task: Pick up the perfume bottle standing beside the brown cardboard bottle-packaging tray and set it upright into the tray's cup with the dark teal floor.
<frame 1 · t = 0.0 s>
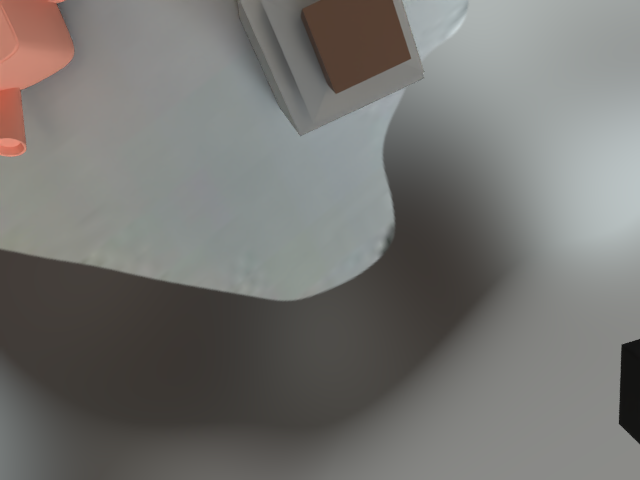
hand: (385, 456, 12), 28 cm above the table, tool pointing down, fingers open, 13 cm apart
perfume bottle: (301, 45, 34), on the table
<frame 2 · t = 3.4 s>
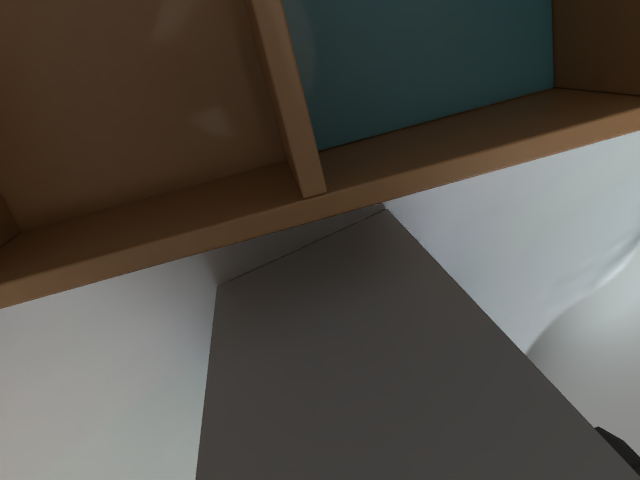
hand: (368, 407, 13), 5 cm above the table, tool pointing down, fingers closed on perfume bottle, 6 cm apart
perfume bottle: (335, 317, 18), on the table, touching gripper
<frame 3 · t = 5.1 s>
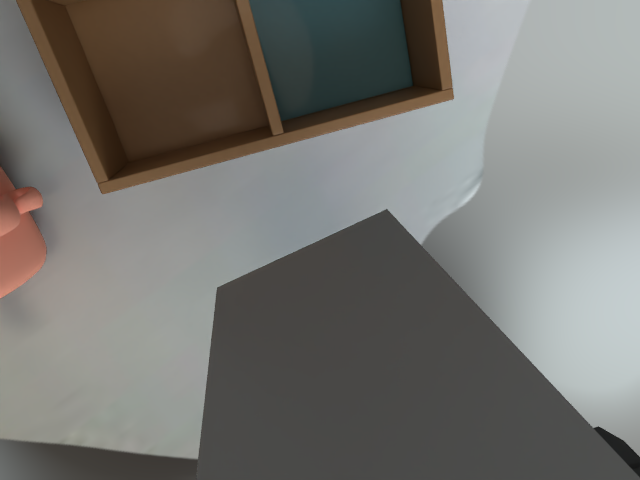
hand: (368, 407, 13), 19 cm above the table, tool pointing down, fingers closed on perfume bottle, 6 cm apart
perfume bottle: (335, 317, 18), point 13 cm above the table, touching gripper
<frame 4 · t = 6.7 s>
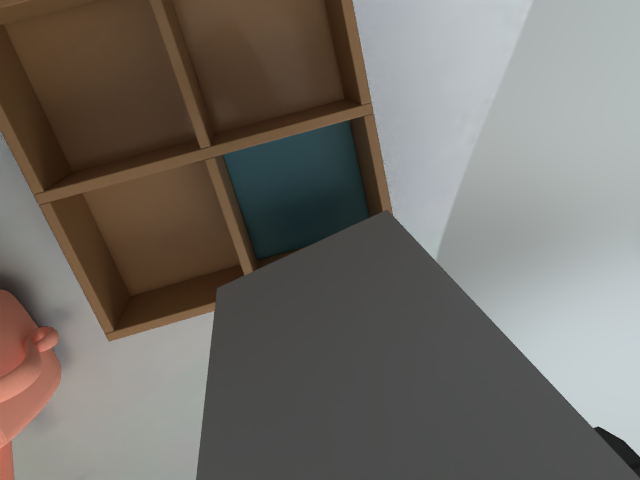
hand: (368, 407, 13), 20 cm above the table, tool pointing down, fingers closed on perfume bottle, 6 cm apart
perfume bottle: (336, 317, 18), point 15 cm above the table, touching gripper
bottle tray: (213, 138, 30), on the table
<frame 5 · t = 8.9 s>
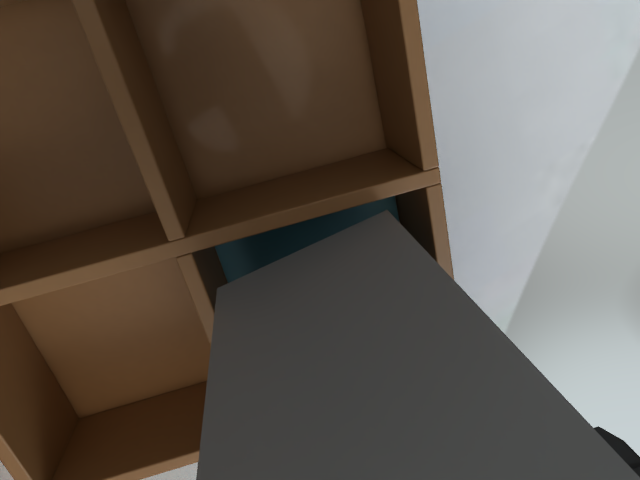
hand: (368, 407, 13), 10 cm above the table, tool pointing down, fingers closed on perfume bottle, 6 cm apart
perfume bottle: (336, 317, 18), point 5 cm above the table, touching gripper
bottle tray: (194, 203, 20), on the table
when the fingers open (6 cm above the table, at t = 10.3 s): perfume bottle stays where it is, resting on bottle tray.
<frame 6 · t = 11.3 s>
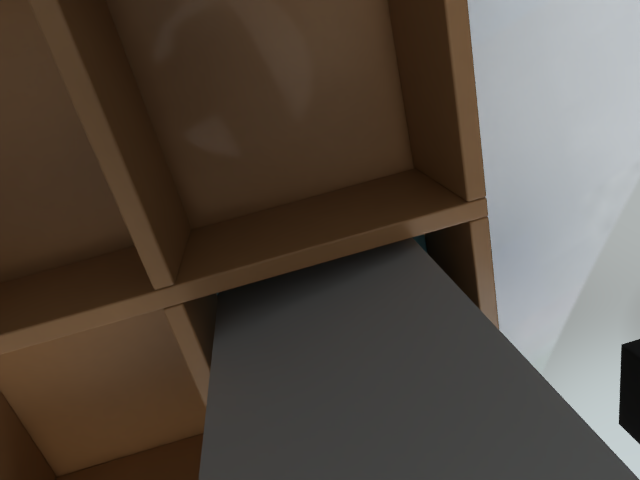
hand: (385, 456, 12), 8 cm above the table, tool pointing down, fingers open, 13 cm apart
perfume bottle: (333, 309, 19), point 1 cm above the table, touching bottle tray
bottle tray: (188, 233, 17), on the table
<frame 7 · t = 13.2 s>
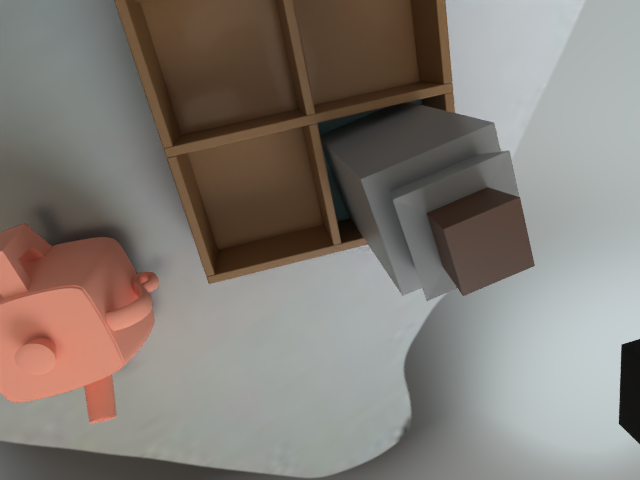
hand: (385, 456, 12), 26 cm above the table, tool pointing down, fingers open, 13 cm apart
perfume bottle: (374, 159, 35), point 1 cm above the table, touching bottle tray
bottle tray: (302, 111, 34), on the table
teapot: (84, 294, 37), on the table
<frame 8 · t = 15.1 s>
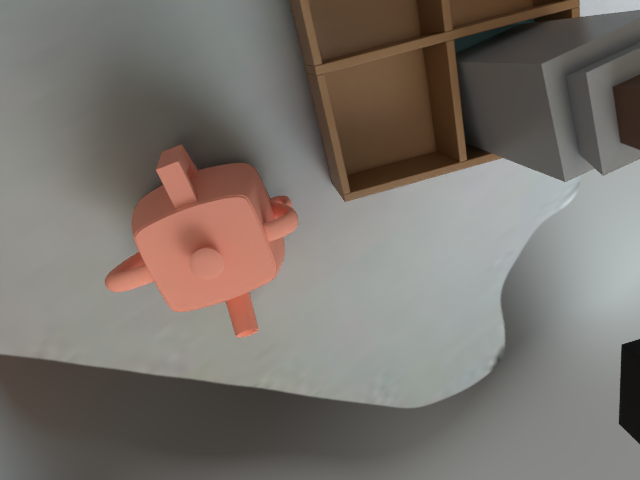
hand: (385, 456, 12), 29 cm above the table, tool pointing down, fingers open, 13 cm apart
perfume bottle: (487, 85, 37), point 1 cm above the table, touching bottle tray
bottle tray: (422, 38, 36), on the table
teapot: (212, 224, 39), on the table
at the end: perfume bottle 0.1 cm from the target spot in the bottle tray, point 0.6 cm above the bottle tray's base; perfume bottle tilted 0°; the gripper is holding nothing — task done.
